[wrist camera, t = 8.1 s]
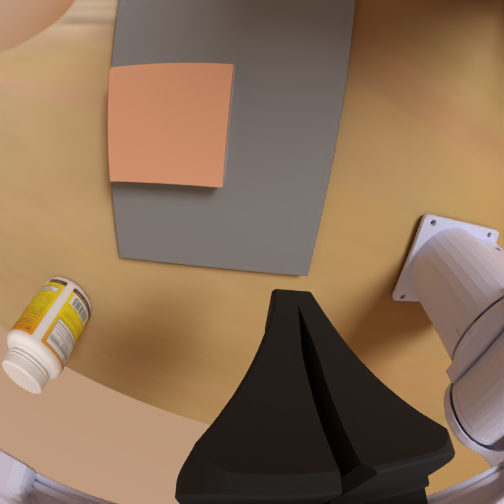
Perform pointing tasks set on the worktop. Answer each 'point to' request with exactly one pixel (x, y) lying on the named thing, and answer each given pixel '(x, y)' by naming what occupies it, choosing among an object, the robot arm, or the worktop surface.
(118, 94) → the tile
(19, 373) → the supplement bottle
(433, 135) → the worktop surface
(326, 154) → the mat
